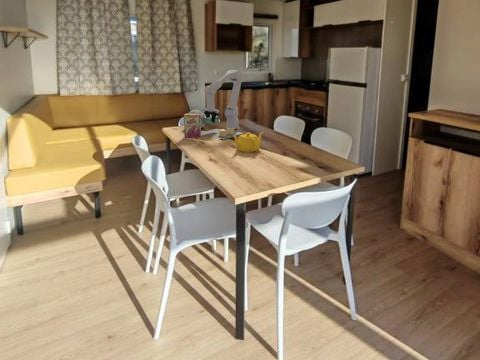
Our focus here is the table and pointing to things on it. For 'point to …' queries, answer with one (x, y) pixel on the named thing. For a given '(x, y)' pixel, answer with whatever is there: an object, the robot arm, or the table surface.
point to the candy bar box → (192, 125)
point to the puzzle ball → (198, 113)
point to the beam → (209, 120)
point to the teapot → (248, 142)
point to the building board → (216, 134)
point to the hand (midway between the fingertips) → (211, 121)
